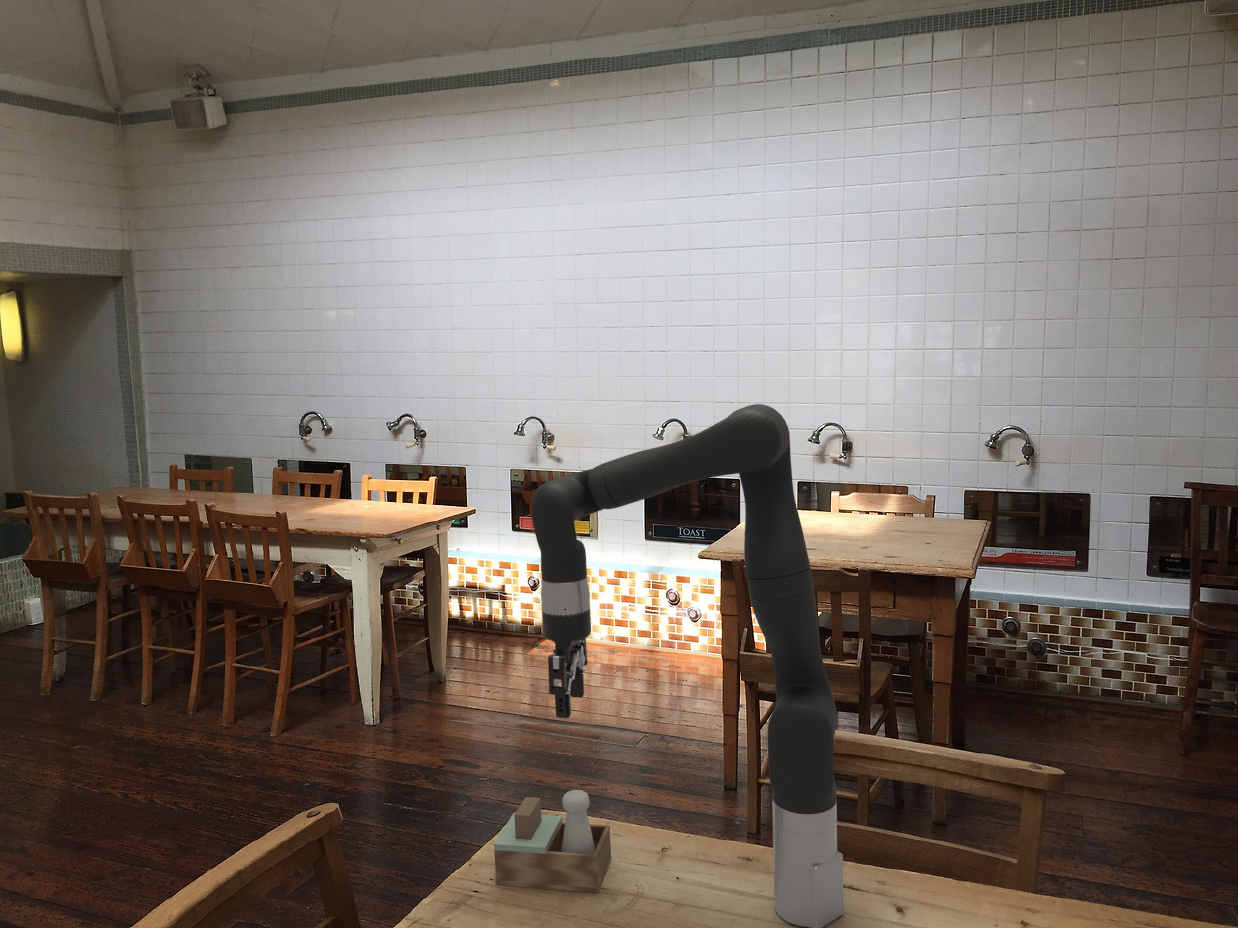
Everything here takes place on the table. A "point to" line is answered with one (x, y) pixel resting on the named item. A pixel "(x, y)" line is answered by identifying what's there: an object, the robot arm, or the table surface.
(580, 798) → the salt shaker
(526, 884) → the box
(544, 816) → the lid
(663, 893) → the table surface
